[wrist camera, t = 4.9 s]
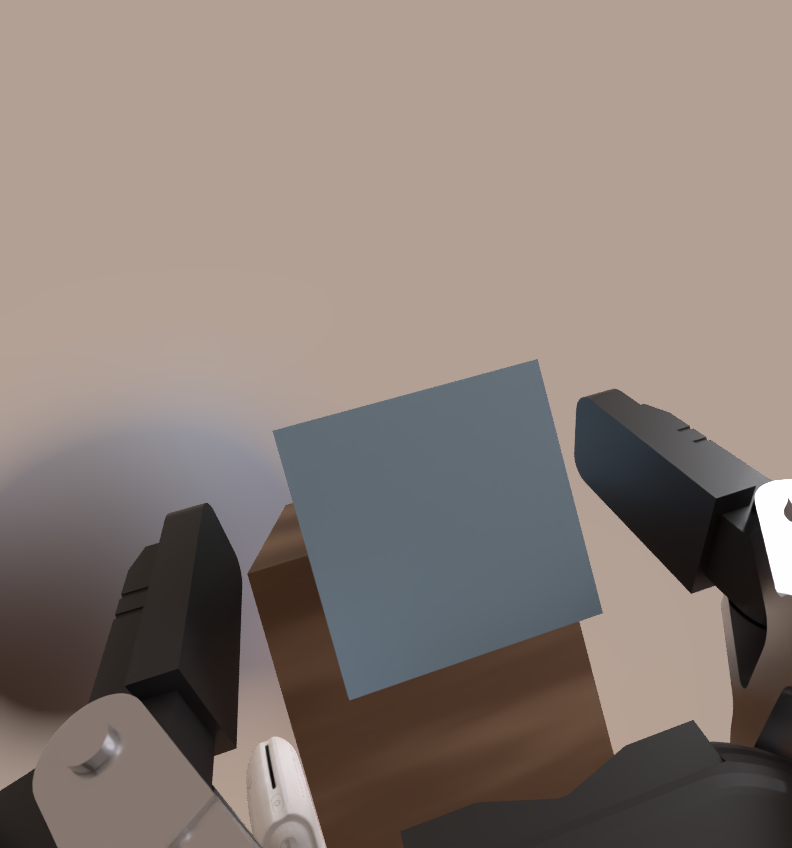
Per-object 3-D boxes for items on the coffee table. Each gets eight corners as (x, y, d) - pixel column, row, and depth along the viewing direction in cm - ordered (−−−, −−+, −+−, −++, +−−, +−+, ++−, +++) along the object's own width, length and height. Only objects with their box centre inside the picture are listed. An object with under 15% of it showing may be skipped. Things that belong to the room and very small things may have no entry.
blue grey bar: (601, 612, 7) (537, 358, 7) (349, 700, 7) (272, 430, 7) (402, 467, 29) (384, 404, 29) (338, 486, 29) (319, 421, 29)
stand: (761, 1324, 18) (543, 483, 16) (506, 1468, 16) (247, 573, 15) (589, 959, 30) (454, 456, 28) (434, 1026, 28) (285, 505, 27)
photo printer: (358, 960, 33) (309, 791, 32) (296, 1004, 31) (244, 827, 31) (325, 845, 42) (286, 713, 42) (277, 874, 41) (236, 738, 40)
